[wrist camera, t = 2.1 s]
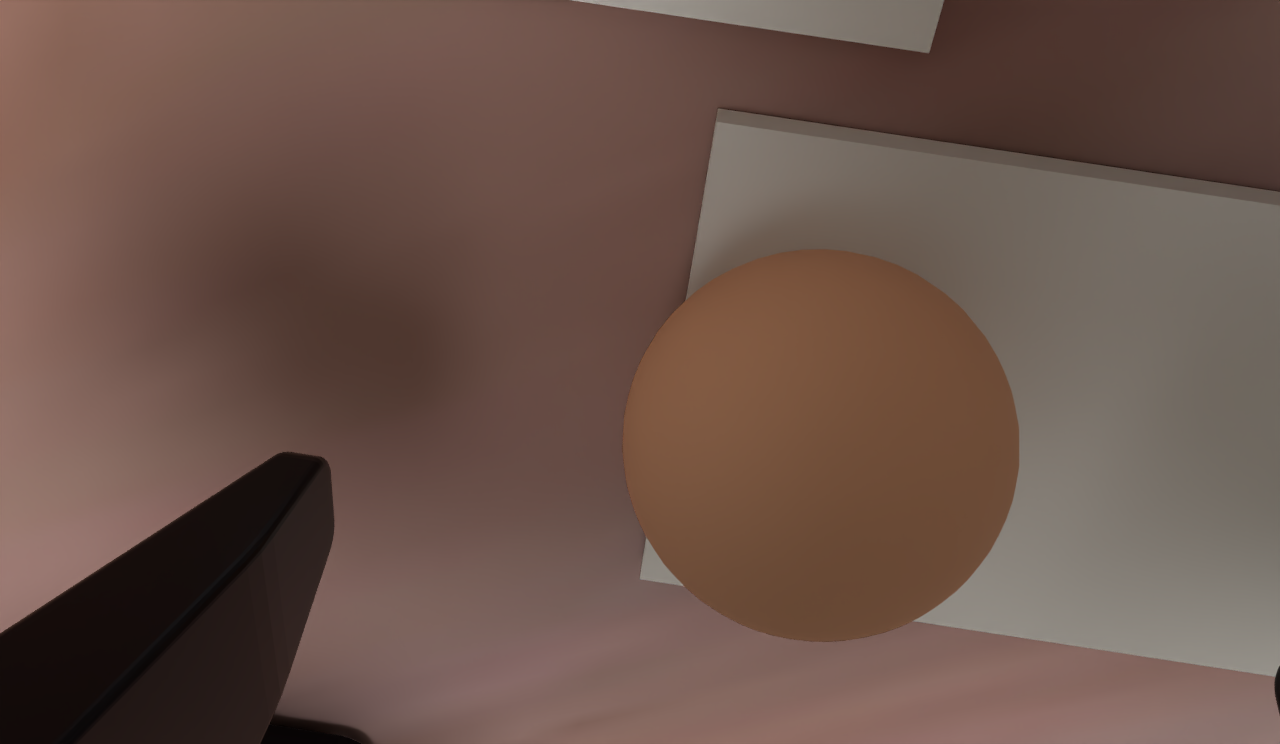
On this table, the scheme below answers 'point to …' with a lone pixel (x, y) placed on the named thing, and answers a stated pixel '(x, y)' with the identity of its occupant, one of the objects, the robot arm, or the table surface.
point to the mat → (1067, 367)
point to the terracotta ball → (821, 445)
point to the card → (814, 17)
